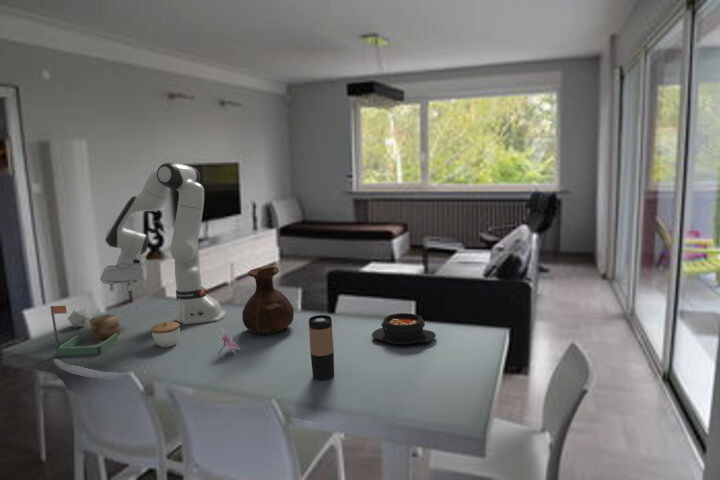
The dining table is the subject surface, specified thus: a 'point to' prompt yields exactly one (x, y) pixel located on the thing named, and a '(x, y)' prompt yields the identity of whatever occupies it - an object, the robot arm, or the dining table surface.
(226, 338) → the lily
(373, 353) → the dining table surface
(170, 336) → the lidded jar
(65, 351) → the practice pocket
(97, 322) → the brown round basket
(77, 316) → the white faceted block
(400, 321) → the casserole
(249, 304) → the jug
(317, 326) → the travel mug
